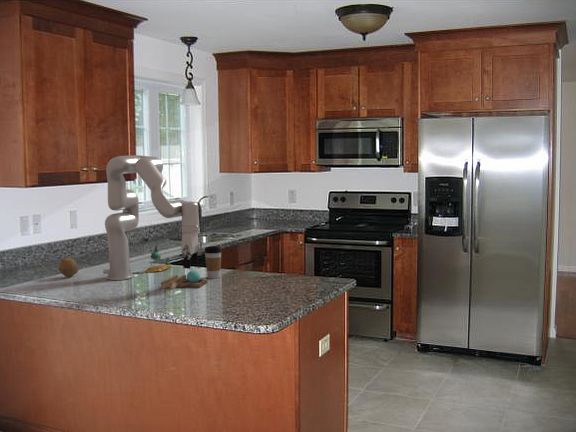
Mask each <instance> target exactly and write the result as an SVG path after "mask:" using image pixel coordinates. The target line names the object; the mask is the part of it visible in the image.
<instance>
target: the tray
mask: <svg viewBox="0 0 576 432" xmlns="http://www.w3.org/2000/svg"><path fill="white" fill-rule="evenodd" d="M206 283H207V284H208V279H207V278H200V280H199V281H198V282H197V283H190V282H189V281H188V280H187V278H186V279H185V280H184V281H182V282H180V283H179V286H178V288H186V287H187V288H190V289H191V288H192V289H195V288H196V289H200V288H201V287H203V286H205V285H206Z"/></svg>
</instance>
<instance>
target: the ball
mask: <svg viewBox="0 0 576 432" xmlns="http://www.w3.org/2000/svg"><path fill="white" fill-rule="evenodd" d="M186 279H187V280H188V281H189V282H190V283H197V282H198V281H199V280H200V279H201V274H200V273H199V271H196V270H190V271H188V273H187V274H186Z"/></svg>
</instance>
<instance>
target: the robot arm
mask: <svg viewBox="0 0 576 432" xmlns="http://www.w3.org/2000/svg"><path fill="white" fill-rule="evenodd" d="M163 169H164V165H163V162H162V160H161V159H160V158H158V157H156V156H147V155H137V154H135V155H134V154H133V155H118V156H115V157H113V158H111V159H110V160H109V161H108V162H107V164H106V168H105V173H106V179H107V206H108V208H109V209H110V210H112V211H116V213H112V214H110V215H108V216H107V217H106V218H105V220H104V228H105V232H106V236H107V244H108V245H107V247H108V261H109V268H108V269H106V268H104V269H103V270H102V274H104V275H105V274H107V276H106V279H107V280H109V281H125V280H130V279H132V278H134V274H133V273H132V272H131V264H130V263H131V261H130V247H129V239H128V237H127V235H126V233H125V232H128V231H129V232H130V231H134V230H135V229H137V227H138V224H139V221H140V220H139V217H140V216H139V213H140V212H139V205H140V203H139V202H140V201H139V197H138V194H137V193H136V192H135V191H134V190H132V189H127V181H126V178H125V176H124V174H125V175H126V174H137V175H138V176H139V177H140V179H141V180H142V181H143V182H144V184H145V185H146V186H147V187H148V189H149V190H150V198H151V202H152V205H153V207H154V208H155V210H157V212H158V213H159V214H160V215H161V216H162V217H163V218H165V219H172V218H178V217H181V233H182V234H181V244H180V245H181V247H180V248H181V249H180V251H181V255H182V260H183V262H182V264H183V265H182V268H183V269H188V270H189V269H191V264H192V265H199V246H200V245H199V229H200V228H199V222H200V221H199V220H200V219H199V203H198V202H197V201H192V200H191V201H187V200H182V199H178V200H177V199H176V200H168V199H167V197H166V196H165V195H164V193H163V188H165V186H166V184H167V179H166V178H165V177H164V176H163V174H162V171H163ZM117 211H122V212H117Z"/></svg>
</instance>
